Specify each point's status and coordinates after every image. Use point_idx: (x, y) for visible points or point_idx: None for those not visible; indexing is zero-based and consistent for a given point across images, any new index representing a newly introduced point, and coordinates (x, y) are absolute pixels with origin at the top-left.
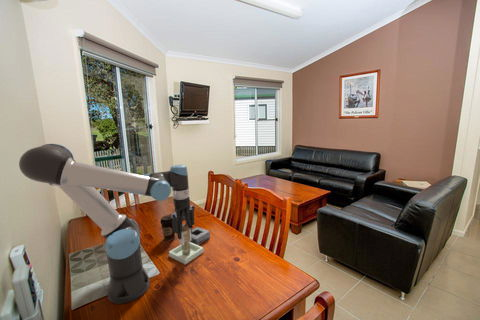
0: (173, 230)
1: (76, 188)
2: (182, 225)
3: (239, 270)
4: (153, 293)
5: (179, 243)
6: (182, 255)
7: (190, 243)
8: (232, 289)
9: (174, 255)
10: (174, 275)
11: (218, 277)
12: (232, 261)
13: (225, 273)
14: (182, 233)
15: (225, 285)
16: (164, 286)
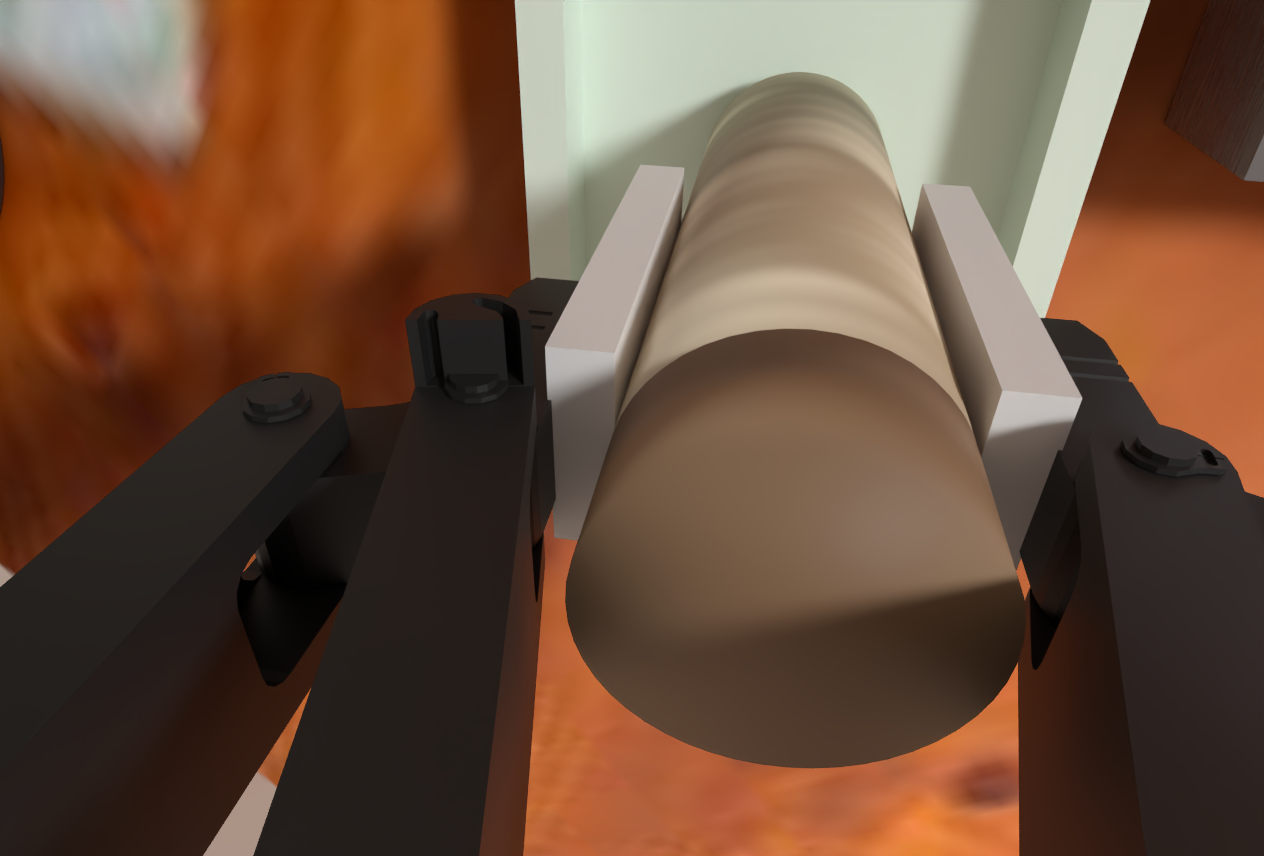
0: (184, 466)
1: None
2: (772, 547)
3: (813, 841)
4: (24, 376)
5: (636, 175)
6: (687, 143)
7: (1079, 62)
8: (577, 853)
9: (523, 82)
10: (325, 369)
11: (622, 744)
12: (925, 765)
13: (707, 770)
14: (582, 524)
15: (579, 810)
16: (155, 400)
